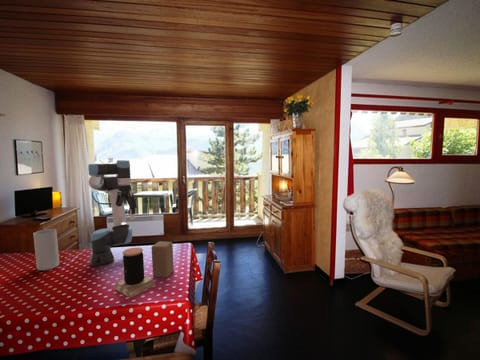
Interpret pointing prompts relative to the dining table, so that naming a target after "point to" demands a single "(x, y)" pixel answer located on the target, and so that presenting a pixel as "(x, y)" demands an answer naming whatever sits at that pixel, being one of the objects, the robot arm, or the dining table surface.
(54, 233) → the cylinder vase
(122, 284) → the plinth
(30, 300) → the dining table surface
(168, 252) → the wooden block
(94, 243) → the robot arm
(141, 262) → the coffee jar
